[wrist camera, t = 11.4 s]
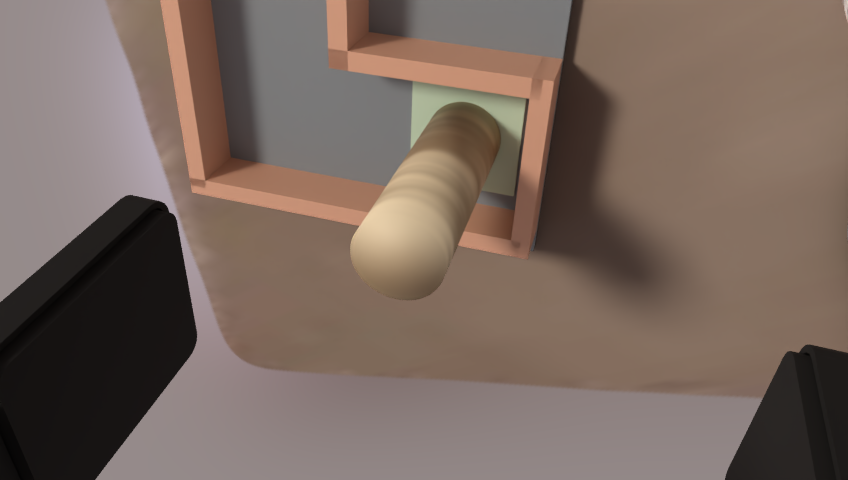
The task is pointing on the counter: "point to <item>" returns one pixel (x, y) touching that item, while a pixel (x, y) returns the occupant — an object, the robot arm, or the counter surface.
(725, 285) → the counter surface
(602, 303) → the counter surface
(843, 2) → the white cup
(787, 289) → the counter surface
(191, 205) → the counter surface
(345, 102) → the track
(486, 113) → the peg
